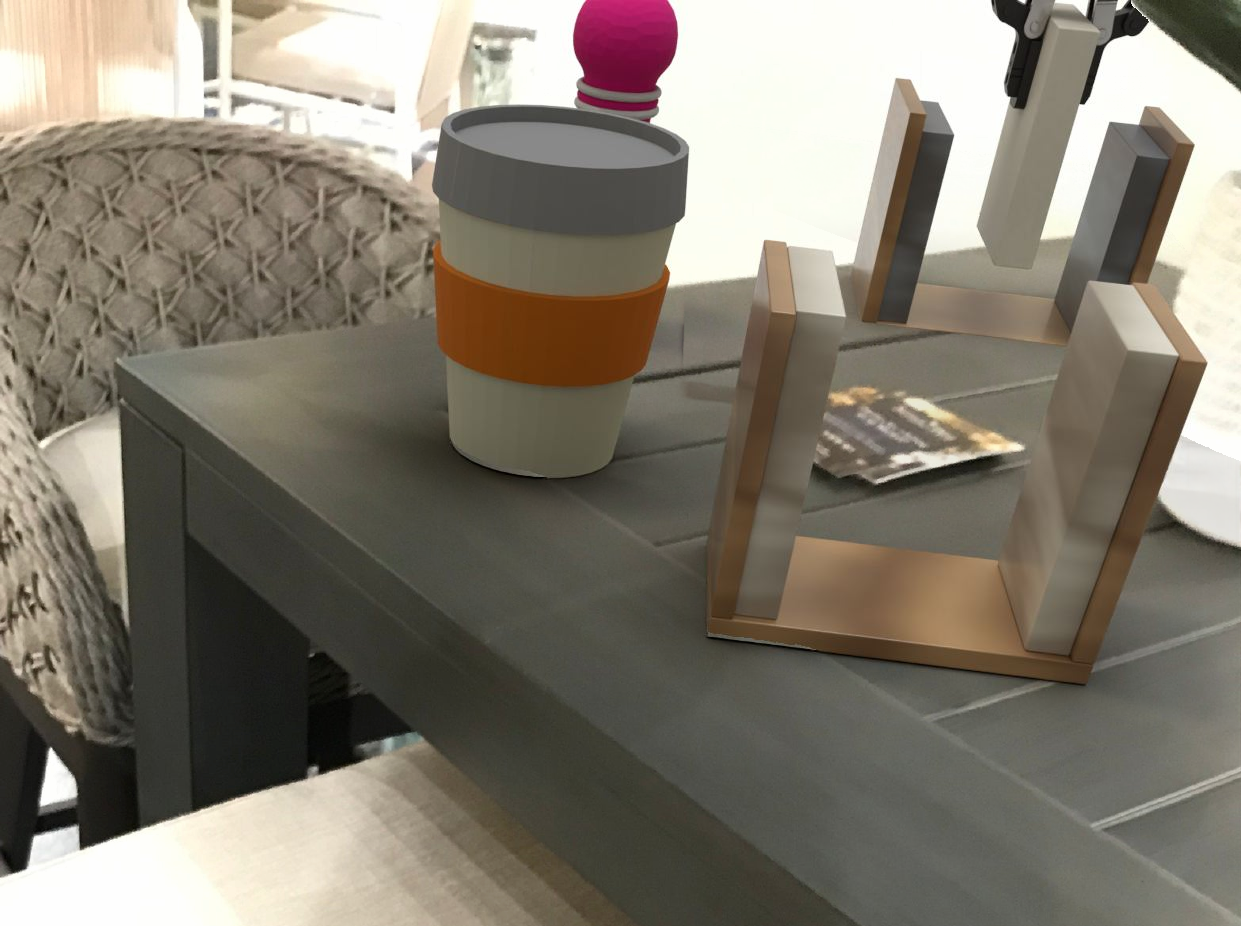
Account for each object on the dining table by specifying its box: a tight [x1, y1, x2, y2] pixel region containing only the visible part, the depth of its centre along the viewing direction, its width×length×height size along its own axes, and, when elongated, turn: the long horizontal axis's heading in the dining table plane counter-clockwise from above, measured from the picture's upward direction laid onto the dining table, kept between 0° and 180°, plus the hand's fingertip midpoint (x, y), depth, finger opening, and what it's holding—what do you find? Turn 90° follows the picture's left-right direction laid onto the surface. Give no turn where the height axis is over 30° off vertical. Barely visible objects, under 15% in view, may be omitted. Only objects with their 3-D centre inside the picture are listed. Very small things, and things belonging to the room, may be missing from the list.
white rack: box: [705, 239, 1208, 685], centre depth 71 cm, size 17×10×14 cm, turn 83°
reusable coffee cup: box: [431, 104, 690, 479], centre depth 83 cm, size 13×13×15 cm
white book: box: [976, 2, 1100, 270], centre depth 102 cm, size 2×9×13 cm, turn 173°
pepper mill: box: [572, 0, 679, 123], centre depth 97 cm, size 7×7×20 cm
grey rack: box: [850, 77, 1196, 347], centre depth 105 cm, size 17×10×13 cm, turn 83°
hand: (1042, 107), depth 100 cm, fingers closed on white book, 2 cm apart
